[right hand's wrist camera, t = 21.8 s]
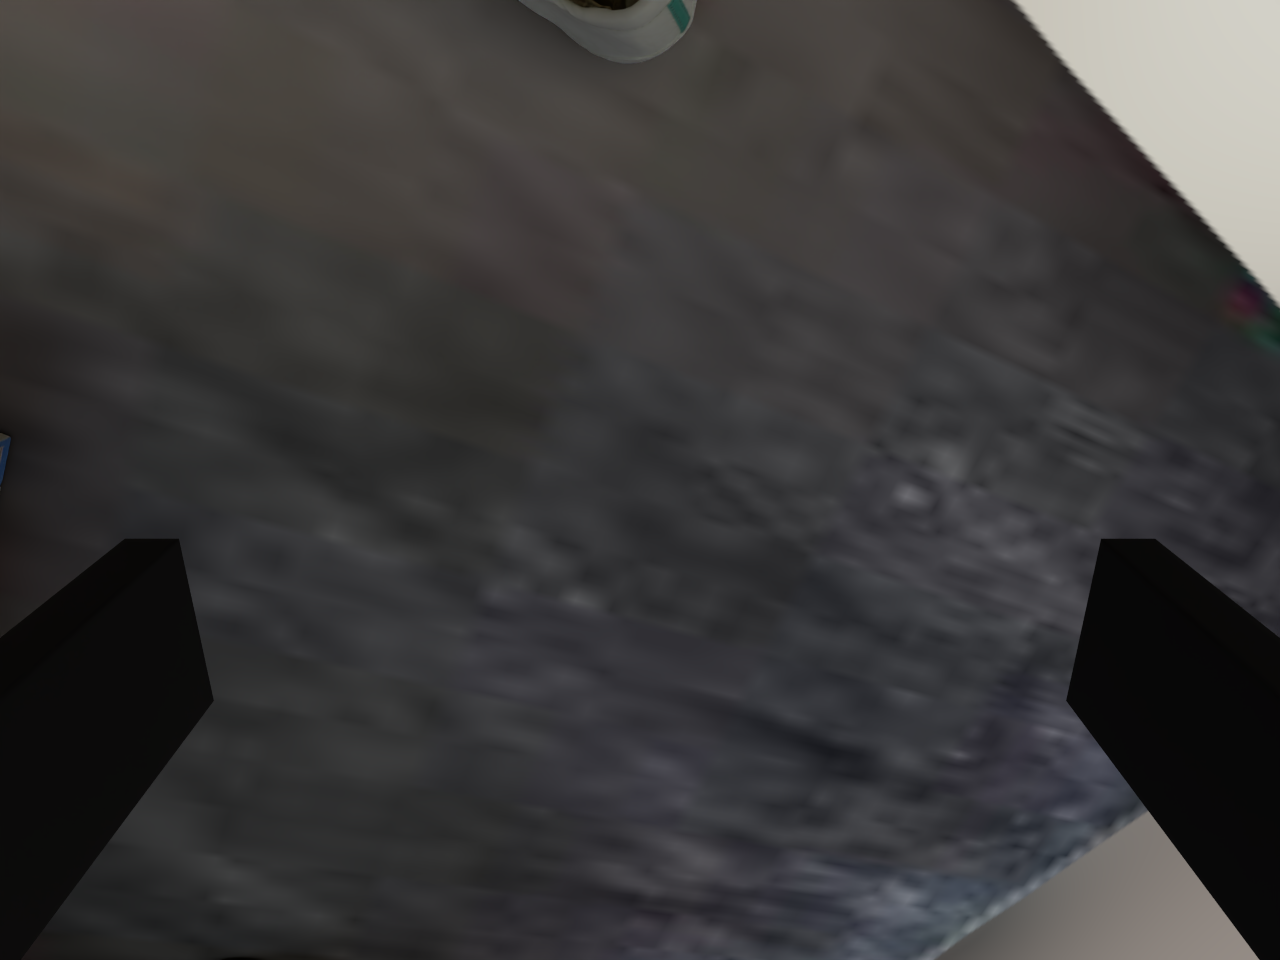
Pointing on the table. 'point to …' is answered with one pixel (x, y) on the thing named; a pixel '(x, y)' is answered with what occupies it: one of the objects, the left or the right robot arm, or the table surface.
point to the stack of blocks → (3, 453)
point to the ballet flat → (619, 25)
